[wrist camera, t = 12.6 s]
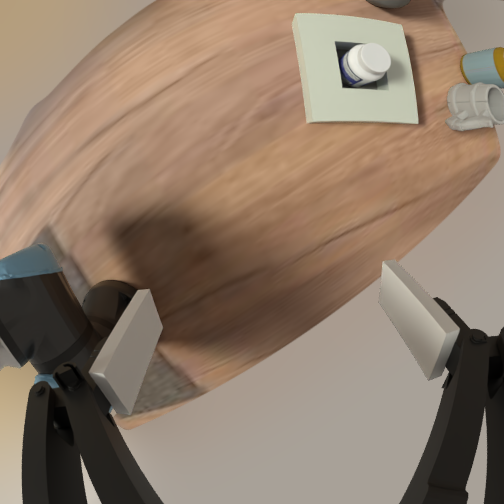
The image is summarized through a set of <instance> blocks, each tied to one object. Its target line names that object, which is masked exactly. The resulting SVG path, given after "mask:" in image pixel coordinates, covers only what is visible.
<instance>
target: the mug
mask: <svg viewBox="0 0 504 504" xmlns="http://www.w3.org/2000/svg"><path fill="white" fill-rule="evenodd" d="M447 102H448V103H447V104H448V107H449V110H450V112H451V114H452V117H449V118H448V119H446V120H445V122H446V124H447V125H448V126H449V128H451V129H452V130H458V131H465V130H471V129H472V130H473V129H478V128H482V127H491V128H493V124H504V94H503V92H502V91H501V90H500V88H499V87H498V86H496V85H494V84H484V83H482V82H479V83H475V84H473V85H467V84H465V83H458V84H456V85H455V86H452V87H451V88H450V89H449V91H448V96H447Z"/></svg>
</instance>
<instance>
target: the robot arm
mask: <svg viewBox="0 0 504 504" xmlns="http://www.w3.org/2000/svg"><path fill="white" fill-rule="evenodd" d="M379 304H380V305H381V307H382V308H383V309H384V311H385V312H386V314H387V315H388V317H389V318H390V320H391V321H392V323H393V324H394V326H395V328H396V329H397V331H398V332H399V334H400V335H401V337H402V338H403V340H404V341H405V343H406V344H407V346H408V348H409V350H410V351H411V353H412V354H413V356H414V358H415V359H416V360H417V363H418V364H419V366H420V367H421V369H422V371H423V373H424V374H425V376H426V378H427V379H428V380H432V379H434V378H437V377H439V376H441V375H442V373H443V371H444V369H445V366H446V368H447V369H448V371H449V373H448V376H447V378H446V380H445V382H444V384H443V386H442V388H444V391H443V395H442V398H441V403H440V406H439V409H438V412H437V416H436V419H435V422H434V425H433V428H432V431H431V434H430V437H429V440H428V442H427V445H426V448H425V450H424V453H423V455H422V457H421V460H420V462H419V465H418V467H417V469H416V472H415V474H414V476H413V478H412V480H411V482H410V484H409V486H408V488H407V490H406V492H405V494H404V496H403V498H402V500H401V502H400V503H399V504H467V500H468V492H466V490H465V488H466V484H467V481H468V478H469V475H470V471H471V468H472V464H473V461H474V457H475V453H476V450H477V445H478V441H479V436H480V432H481V426H482V421H483V415H484V408H485V411H486V425H487V476H486V489H485V498H484V504H504V327H503V328H502V329H501V332H500V334H499V336H491V337H488V336H487V335H486V333H484V332H483V331H481V330H478V329H470V328H469V327H468V326H467V325H466V324H465V323H464V322H463V321H462V319H461V318H460V317H459V316H458V315H457V314H455V312H454V311H453V310H452V309H451V307H450V306H448V304H447V303H446V302H445V301H443V300H441V299H439V298H438V297H436V298H432V297H431V296H430V295H429V294H428V293H427V292H426V291H425V290H424V289H423V288H422V287H421V286H420V285H419V284H418V283H417V282H416V281H415V279H413V277H411V275H410V274H409V273H408V272H406V271H405V269H403V267H402V266H400V264H398V263H397V262H396V261H395V260H387V261H383V264H382V276H381V286H380V295H379ZM162 329H163V326H162V323H161V321H160V318H159V315H158V312H157V309H156V307H155V304H154V301H153V298H152V295H151V292H150V289H144V290H138V291H137V290H136V289H134V288H133V287H131V286H129V285H127V284H125V283H122V282H118V281H112V280H108V281H102V282H99V283H97V284H96V285H94V286H93V287H92V288H91V290H90V291H89V292H88V293H87V294H86V296H85V298H84V301H83V305H82V307H81V305H80V303H79V302H78V300H77V298H76V296H75V294H74V293H73V291H72V289H71V287H70V285H69V283H68V281H67V279H66V277H65V275H64V273H63V268H62V267H60V265H59V263H58V262H57V260H56V258H55V256H54V254H53V252H52V250H51V249H50V247H49V246H48V245H46V244H44V243H37V244H34V245H32V246H29V247H27V248H25V249H22V250H20V251H18V252H16V253H14V254H12V255H9V256H7V257H5V258H3V259H1V260H0V370H2V369H3V368H4V367H6V366H10V367H15V368H21V367H22V366H24V365H25V364H26V363H27V362H28V361H30V362H31V364H32V365H33V367H34V368H35V369H36V370H37V372H38V375H37V376H36V377H35V382H34V385H33V386H32V388H31V389H30V392H29V397H28V404H27V410H26V418H25V425H24V435H23V436H24V437H23V449H22V497H23V504H87V499H86V493H85V488H84V481H83V474H82V467H81V459H80V454H81V457H82V459H83V462H84V465H85V467H86V470H87V472H88V474H89V477H90V479H91V481H92V484H93V486H94V488H95V490H96V492H97V495H98V497H99V499H100V501H101V503H102V504H164V503H163V502H162V501H161V499H160V498H159V497H158V495H157V494H156V492H155V491H154V490H153V488H152V486H151V485H150V483H149V482H148V480H147V479H146V477H145V475H144V474H143V472H142V471H141V469H140V467H139V466H138V464H137V462H136V461H135V459H134V457H133V456H132V454H131V452H130V450H129V448H128V447H127V445H126V443H125V441H124V439H123V437H122V435H121V433H120V432H119V429H118V427H117V425H116V423H115V421H114V419H113V417H112V415H111V414H110V413H111V410H112V409H114V410H115V411H116V413H121V414H129V415H131V413H132V410H133V407H134V404H135V401H136V398H137V395H138V393H139V390H140V387H141V384H142V382H143V379H144V376H145V373H146V371H147V368H148V365H149V363H150V360H151V357H152V355H153V352H154V350H155V347H156V344H157V342H158V339H159V337H160V334H161V332H162Z"/></svg>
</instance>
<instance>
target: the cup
mask: <svg viewBox="0 0 504 504" xmlns="http://www.w3.org/2000/svg"><path fill="white" fill-rule="evenodd" d="M366 1H368V2H369V3H371V4H373V5H375V6H379V7H384V8H401V7H403V6H405V5H406V4H408V3H409V2H410V0H366Z"/></svg>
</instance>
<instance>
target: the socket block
mask: <svg viewBox="0 0 504 504" xmlns="http://www.w3.org/2000/svg"><path fill="white" fill-rule="evenodd" d="M292 28H293V34H294V39H295V45H296V51H297V57H298V63H299V69H300V76H301V82H302V89H303V97H304V104H305V112H306V121H307V123H326V122H375V123H397V124H419V123H418V112H417V103H416V95H415V87H414V81H413V75H412V69H411V63H410V58H409V53H408V49H407V44H406V40H405V36H404V32H403V28H402V25H400V24H395V23H391V22H385V21H380V20H374V19H368V18H360V17H352V16H343V15H331V14H311V13H296V14H295V16H294V19H293V22H292ZM368 43H376V44H379V45H381V46H382V47H384V48H385V49H386V50H387V52H388V53H389V55H390V58H391V65H390V68H389V69H388V70H387V71H386V72H385V74H384V76H383V77H382V78H381V79H379V80H377V81H374V82H372V83H369V84H366V85H364V86H361V87H352V86H349V85H347V84H345V83H344V82H343V81H341V75H340V69H339V63H338V60H339V59H340V58H341V57H342V56H343V55H344V54H346V53H347V52H348V51H349V50H350V49H352V48H353V47H354V46H356V45H360V44H368Z"/></svg>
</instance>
